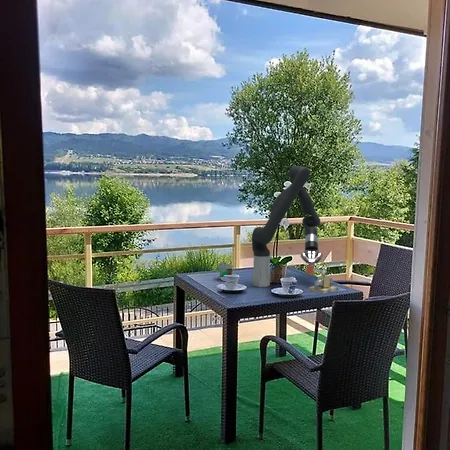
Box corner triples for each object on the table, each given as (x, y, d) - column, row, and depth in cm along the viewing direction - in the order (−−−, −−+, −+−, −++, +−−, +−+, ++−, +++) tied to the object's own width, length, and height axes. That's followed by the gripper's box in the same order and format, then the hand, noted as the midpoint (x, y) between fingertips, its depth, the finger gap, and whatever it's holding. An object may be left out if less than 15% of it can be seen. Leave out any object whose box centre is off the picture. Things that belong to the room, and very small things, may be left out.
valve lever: (327, 275, 260) (327, 267, 260) (324, 276, 258) (324, 268, 258) (308, 272, 268) (309, 264, 268) (306, 273, 266) (306, 265, 265)
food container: (215, 278, 290) (215, 262, 289) (225, 277, 292) (225, 261, 291) (222, 282, 278) (222, 265, 277) (232, 281, 280) (232, 265, 279)
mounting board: (323, 293, 253) (323, 290, 253) (308, 290, 261) (308, 287, 260) (338, 289, 261) (338, 287, 261) (323, 286, 269) (323, 283, 269)
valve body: (319, 289, 255) (319, 278, 255) (313, 288, 259) (313, 277, 258) (333, 286, 263) (333, 275, 262) (327, 284, 266) (327, 274, 266)
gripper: (299, 239, 276) (299, 264, 265) (323, 240, 274) (324, 265, 263) (299, 247, 282) (299, 272, 271) (322, 247, 280) (323, 272, 269)
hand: (311, 268), depth 267 cm, fingers closed
